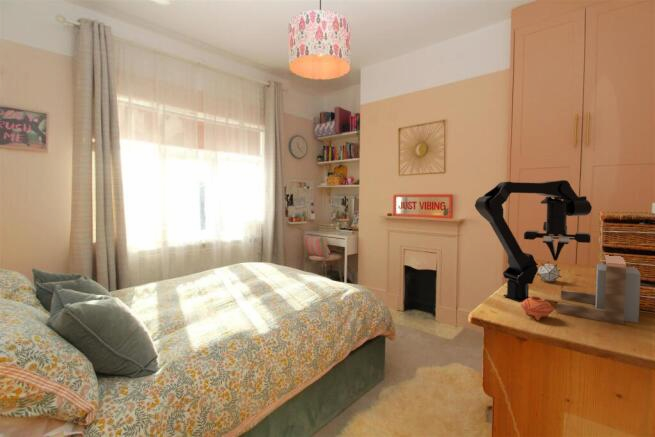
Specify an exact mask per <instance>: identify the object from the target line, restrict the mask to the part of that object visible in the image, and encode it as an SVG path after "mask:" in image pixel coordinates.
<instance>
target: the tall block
mask: <svg viewBox="0 0 655 437" xmlns="http://www.w3.org/2000/svg"><path fill="white" fill-rule="evenodd" d="M635 267H636V266H632V267H626V280H625V304H624V322H628V321H631V322H630V323H634V322H637V323H636V324H639V319H640V318H639V317H640V316H639V315H640V296H641V276H642V274H641V273H640V271H639V270H638V267H636V268H635ZM595 277H596V279H595V283H596V284H595V294H596V303H595V304H594V305H595V307H594V308H598V309H605V289H606V264H604V263H596V276H595Z"/></svg>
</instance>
